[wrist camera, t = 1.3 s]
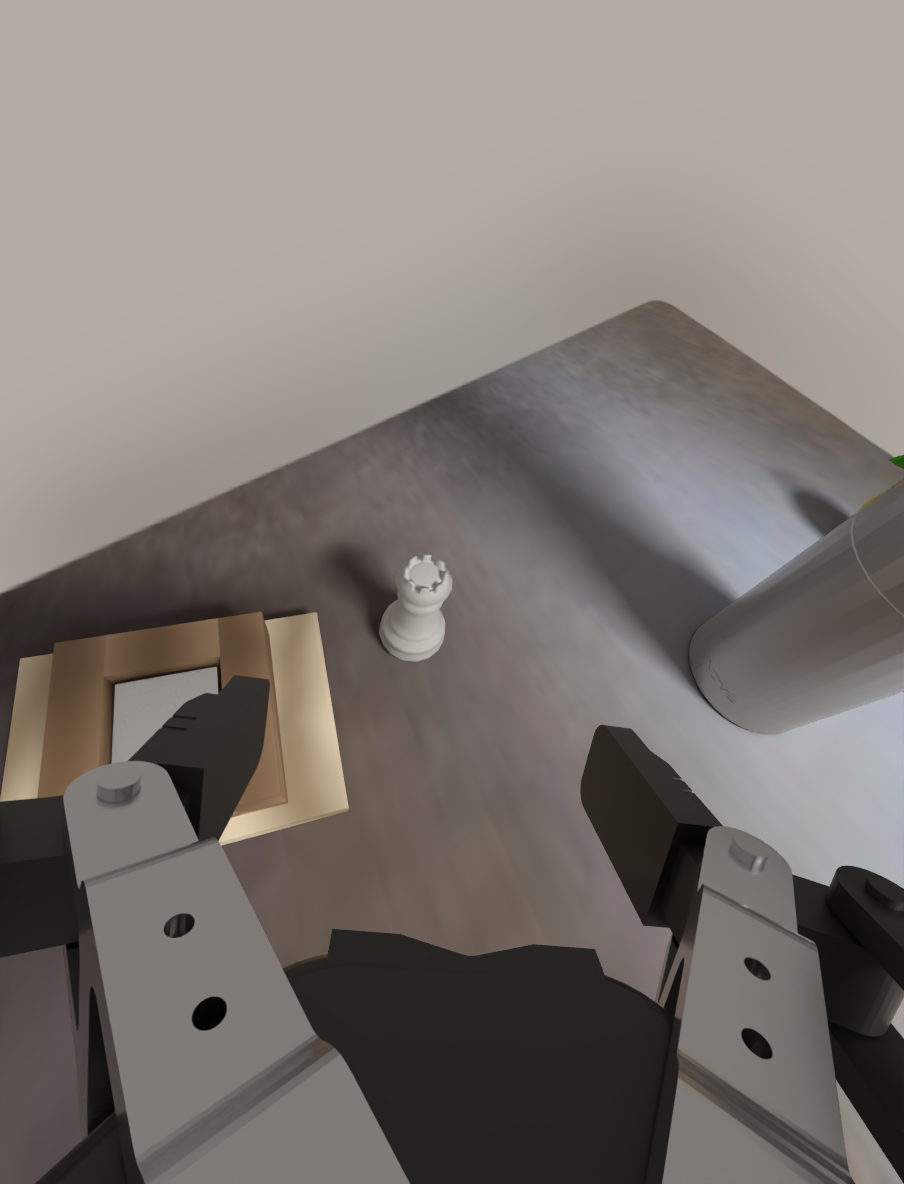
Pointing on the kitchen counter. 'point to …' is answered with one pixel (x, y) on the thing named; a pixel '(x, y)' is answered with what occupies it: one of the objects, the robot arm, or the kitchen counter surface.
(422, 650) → the rook chess piece
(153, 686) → the plate
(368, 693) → the kitchen counter surface
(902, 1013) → the kitchen counter surface
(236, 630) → the press socket
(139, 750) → the robot arm
